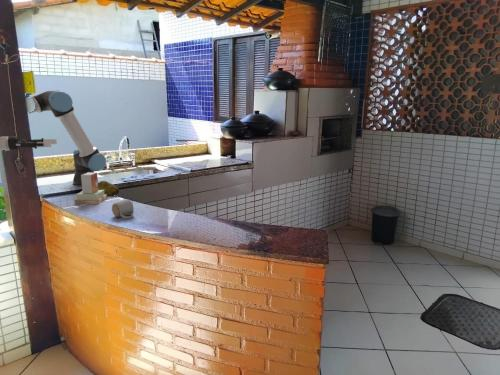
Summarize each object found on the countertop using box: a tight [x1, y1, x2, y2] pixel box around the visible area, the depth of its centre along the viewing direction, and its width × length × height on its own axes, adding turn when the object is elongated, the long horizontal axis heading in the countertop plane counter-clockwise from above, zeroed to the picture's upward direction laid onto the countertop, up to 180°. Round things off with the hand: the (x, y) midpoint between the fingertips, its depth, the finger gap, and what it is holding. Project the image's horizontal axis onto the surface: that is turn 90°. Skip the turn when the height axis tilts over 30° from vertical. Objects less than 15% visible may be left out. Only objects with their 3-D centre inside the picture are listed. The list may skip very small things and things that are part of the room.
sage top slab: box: [75, 190, 104, 200], centre depth 205 cm, size 11×11×3 cm
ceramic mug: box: [111, 199, 135, 220], centre depth 178 cm, size 11×8×8 cm
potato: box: [98, 180, 120, 196], centre depth 219 cm, size 8×13×8 cm, turn 60°
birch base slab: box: [74, 194, 108, 205], centre depth 206 cm, size 13×13×3 cm
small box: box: [81, 172, 99, 193], centre depth 203 cm, size 8×6×10 cm
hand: (53, 143), depth 200 cm, fingers open, 13 cm apart
